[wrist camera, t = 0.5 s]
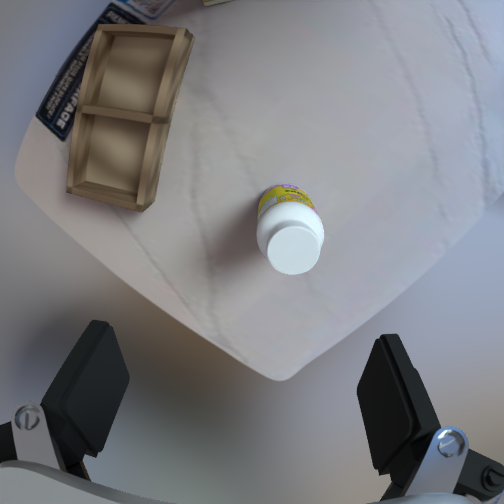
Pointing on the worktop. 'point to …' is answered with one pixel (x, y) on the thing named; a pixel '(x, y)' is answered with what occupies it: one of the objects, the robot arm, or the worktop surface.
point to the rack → (126, 112)
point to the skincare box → (213, 2)
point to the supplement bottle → (289, 229)
